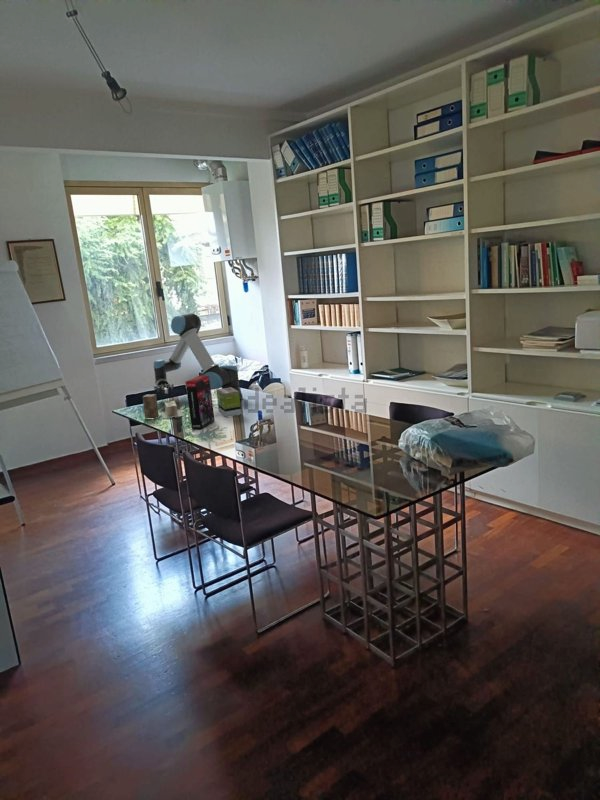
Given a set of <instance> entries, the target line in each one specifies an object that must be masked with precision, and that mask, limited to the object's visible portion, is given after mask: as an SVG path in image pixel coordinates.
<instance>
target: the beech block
mask: <svg viewBox="0 0 600 800" xmlns="http://www.w3.org/2000/svg"><path fill="white" fill-rule="evenodd" d="M164 409H165V411H164V412H166V413H167V416H168V417H169V416H176V415H178V412H177V410H178V405H177V404H176V401H175V400H169V401H164Z"/></svg>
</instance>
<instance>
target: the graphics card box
mask: <svg viewBox="0 0 600 800" xmlns="http://www.w3.org/2000/svg"><path fill="white" fill-rule="evenodd" d="M185 388H186V389H185V390H186V395H187V403H188V409H189V418H190V425H191V429H192V430H203V429H205V428H206V427H207V426H209V425H211V424H213V423H215V421H216V420H215V413H214V405H213V397H212V389H211V388H210V380H209V376H204V375H200V374H199V375H198V376H196V377H193V378H191V379H188V380H186V381H185Z"/></svg>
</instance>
